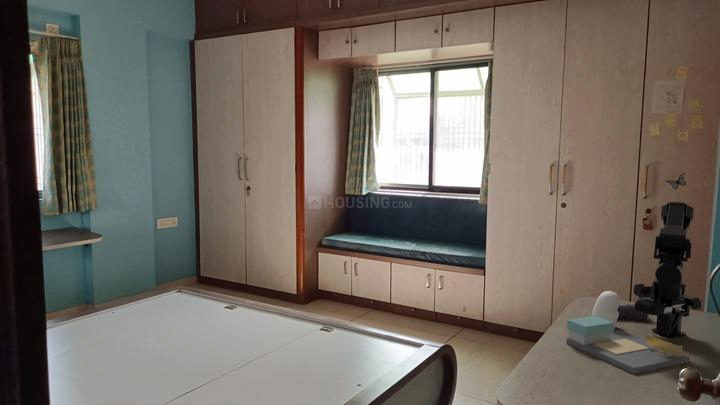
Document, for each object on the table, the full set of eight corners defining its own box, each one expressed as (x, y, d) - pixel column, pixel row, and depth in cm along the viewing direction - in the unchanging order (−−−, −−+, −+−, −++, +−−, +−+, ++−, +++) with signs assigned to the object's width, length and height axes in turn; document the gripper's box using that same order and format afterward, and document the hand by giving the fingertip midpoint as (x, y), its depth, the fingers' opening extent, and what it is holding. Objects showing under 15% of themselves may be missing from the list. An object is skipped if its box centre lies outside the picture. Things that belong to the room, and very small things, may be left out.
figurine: (617, 334, 153) (619, 295, 151) (589, 329, 157) (591, 291, 155) (619, 327, 159) (621, 290, 157) (592, 323, 163) (594, 286, 162)
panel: (618, 334, 152) (618, 321, 152) (689, 362, 132) (690, 347, 131) (566, 343, 145) (567, 329, 144) (633, 373, 124) (634, 358, 124)
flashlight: (598, 305, 164) (594, 298, 169) (596, 320, 166) (593, 313, 171) (650, 309, 161) (644, 302, 166) (648, 324, 162) (643, 317, 167)
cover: (594, 325, 149) (595, 315, 148) (613, 332, 142) (613, 322, 142) (567, 329, 145) (567, 319, 144) (585, 336, 139) (585, 326, 138)
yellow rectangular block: (650, 347, 138) (651, 333, 138) (681, 359, 130) (682, 345, 129) (645, 348, 137) (646, 334, 137) (677, 360, 129) (678, 346, 129)
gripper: (666, 270, 148) (662, 322, 149) (619, 275, 141) (616, 329, 142) (704, 278, 137) (700, 334, 139) (655, 284, 131) (651, 343, 132)
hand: (666, 335), depth 138 cm, fingers closed
